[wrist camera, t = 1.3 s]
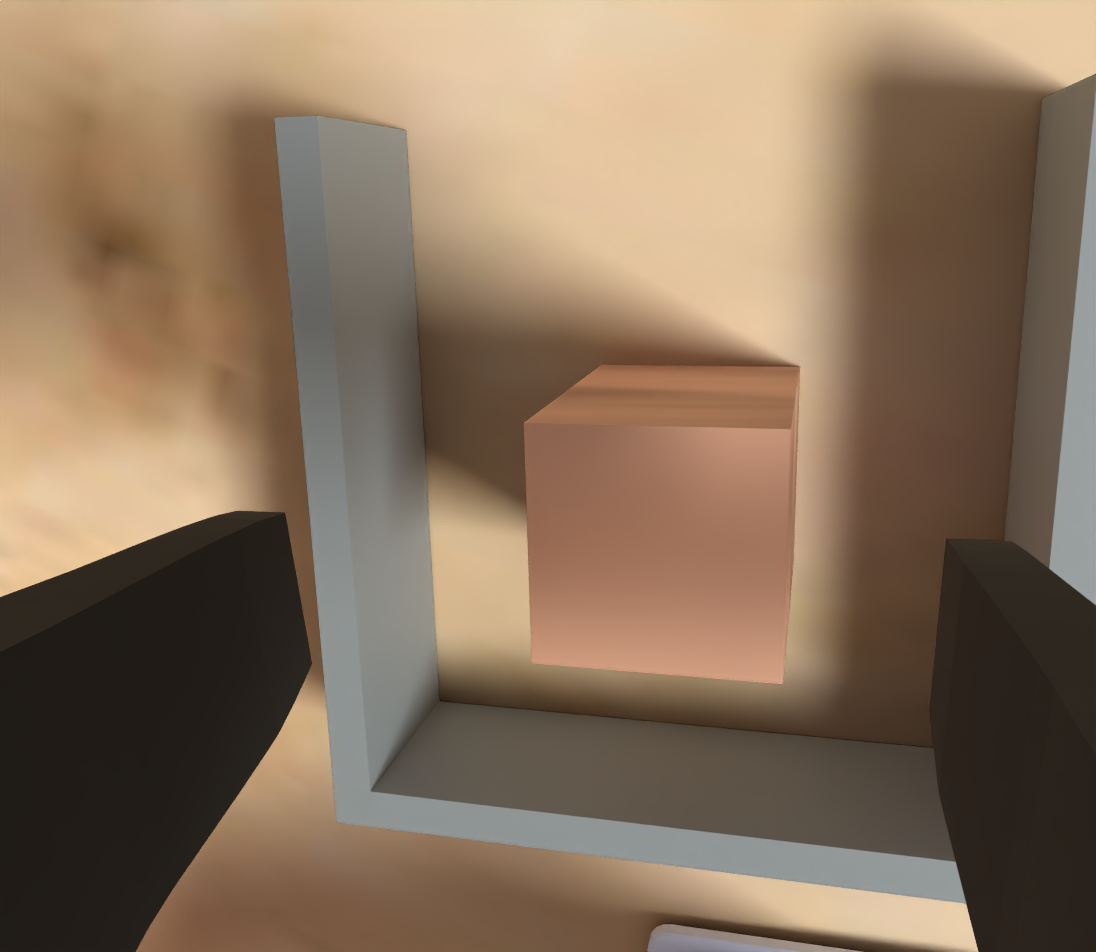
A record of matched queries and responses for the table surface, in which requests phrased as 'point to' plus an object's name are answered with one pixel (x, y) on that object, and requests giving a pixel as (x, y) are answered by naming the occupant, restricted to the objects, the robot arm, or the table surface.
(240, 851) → the table surface
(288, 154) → the open side box
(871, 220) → the table surface
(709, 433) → the block
